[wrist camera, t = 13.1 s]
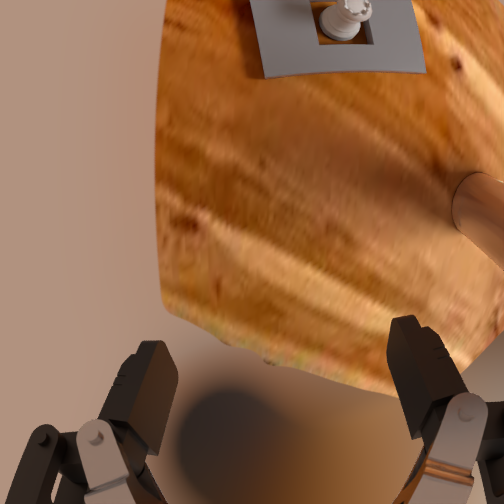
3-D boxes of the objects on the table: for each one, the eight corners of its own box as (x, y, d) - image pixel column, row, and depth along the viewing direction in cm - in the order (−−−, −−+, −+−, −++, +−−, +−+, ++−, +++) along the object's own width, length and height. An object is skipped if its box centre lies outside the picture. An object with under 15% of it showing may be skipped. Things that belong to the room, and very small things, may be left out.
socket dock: (390, -39, 19) (396, -44, 17) (418, 74, 26) (426, 73, 24) (241, -39, 21) (239, -46, 19) (265, 79, 28) (264, 77, 26)
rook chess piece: (365, 30, 24) (391, 13, 17) (336, 48, 26) (355, 33, 19) (339, 1, 23) (358, -24, 16) (309, 19, 25) (321, -5, 17)
